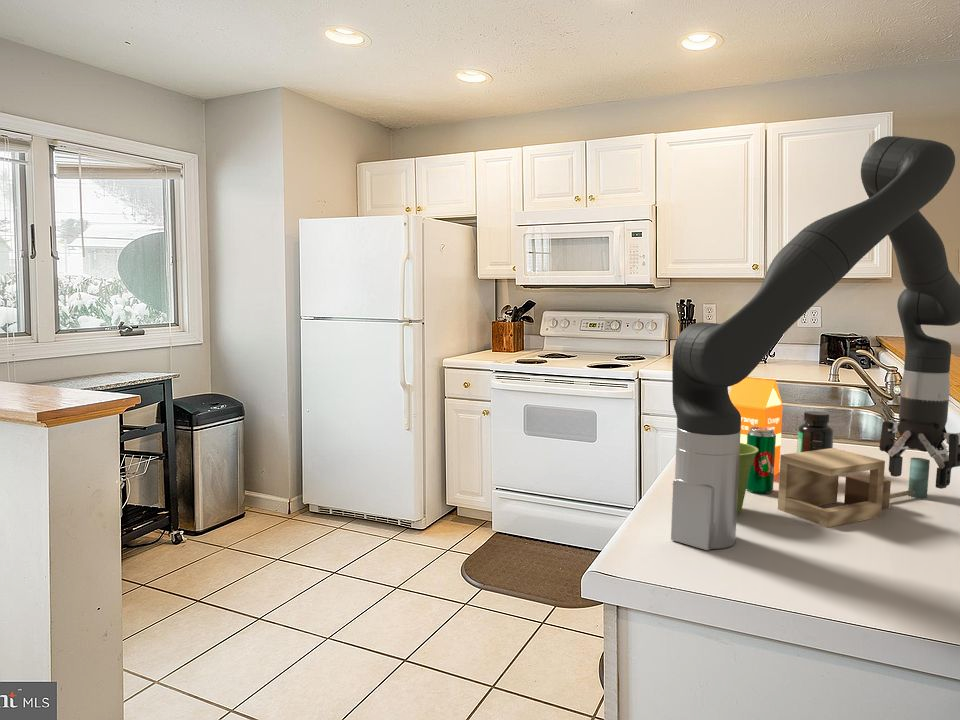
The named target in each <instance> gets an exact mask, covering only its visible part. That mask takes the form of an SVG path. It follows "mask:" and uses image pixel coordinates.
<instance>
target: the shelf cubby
mask: <svg viewBox="0 0 960 720" xmlns="http://www.w3.org/2000/svg"><path fill="white" fill-rule="evenodd" d="M885 464H886V460H883V459H878V458H876V457H871V456H866V455H863V454H858V453H855V452H852V451H851V452H850V451H846V450H842V449H838V448H835V447H833V448H829V449H821V450H814V451H806V452H799V453H797V452H793V453H792V452H791V453H785V454H780V463H779V478H778V495H777V497H778V498H777V499H778V500H777V509H778V510H780V511H782V512H784V513H787V514H790V515H792V516H794V517H798V518H800V519H803V520H807V521H809V522H811V523H814V524H816V525H820V526H823V527H825V528H830V527H836V526H837V527H838V526H841V525H845V524H852V523H855V522H856V523H857V522H862V521H865V520H871V519H872V520H873V519H876V518H880V517H881V518H882V511H883V510H882V497H883V483H884V479H885V468H886V465H885ZM866 471H867V472H868V471H869V475H870V479H869V493H868V501H865V502H860V503H854V504H849V505H847V504H844V505H840V506H833V507H829V508H823V507H820V506H823V505H824V506H825V505H830V504H834V503H838V490H839V479H840V478H839V477H840V476H841V475H849V474H852V473H854V474H855V473H859V472H860V473H861V472H866Z"/></svg>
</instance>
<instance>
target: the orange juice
mask: <svg viewBox="0 0 960 720" xmlns="http://www.w3.org/2000/svg"><path fill="white" fill-rule="evenodd" d="M728 394H729V397H730V400H731V401H732V403H733V405H734V406H735V407H736V408H737V410H738V411H739V412H740V415H741V436H740V443H744V444H747V433H748V432H749V430H750V427H767V428H771V429H774V433H775V435H776V445H775V464H774V476H775V475H778V474H780V458H781V445H782V424H783V423H782V421H783V407H784V405H783V402H782V397H781V395H780V394H781V393H780V392H779V387H778V384H777V380H776V379H769V378H762V377H754V376H753V377H752V376H747V377H746V378H745V379H743V380H742V381H741V382H739V383H737V384H735V385H733V386H731V388H730V391H729V392H728Z"/></svg>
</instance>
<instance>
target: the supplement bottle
mask: <svg viewBox="0 0 960 720" xmlns="http://www.w3.org/2000/svg"><path fill="white" fill-rule="evenodd" d="M803 422H804V423H802V424H800V425H799V426H798V428H797V444H796V446H797V447H796V453H799V452H806V451H814V450H821V449H829V448H834V432H835V431H834V429H833V427H831V426H830V425H829V423H830V413H828V412H826V411H825V412H824V411H817V410H816V411H815V410H813V411H812V410H809V411H804V413H803Z"/></svg>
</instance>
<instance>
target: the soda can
mask: <svg viewBox="0 0 960 720" xmlns="http://www.w3.org/2000/svg"><path fill="white" fill-rule="evenodd" d="M747 444H749V445H752V446H754V447H756V448H758V450H759V451H758V453H756V454H755V457H754V461H753V465H752V466H751V469H750V473H749V478H748V482H747V487H746V491H747V492H749V493H753V494H761V495H763V494H764V495H765V494H766V495H767V494H770V493H772V491H773V490H774V479H775V478H774V477H775V475H774V464H775V445H776V435H775V433H774V429H771V428H767V427H750V430H749V432H748V433H747Z"/></svg>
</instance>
